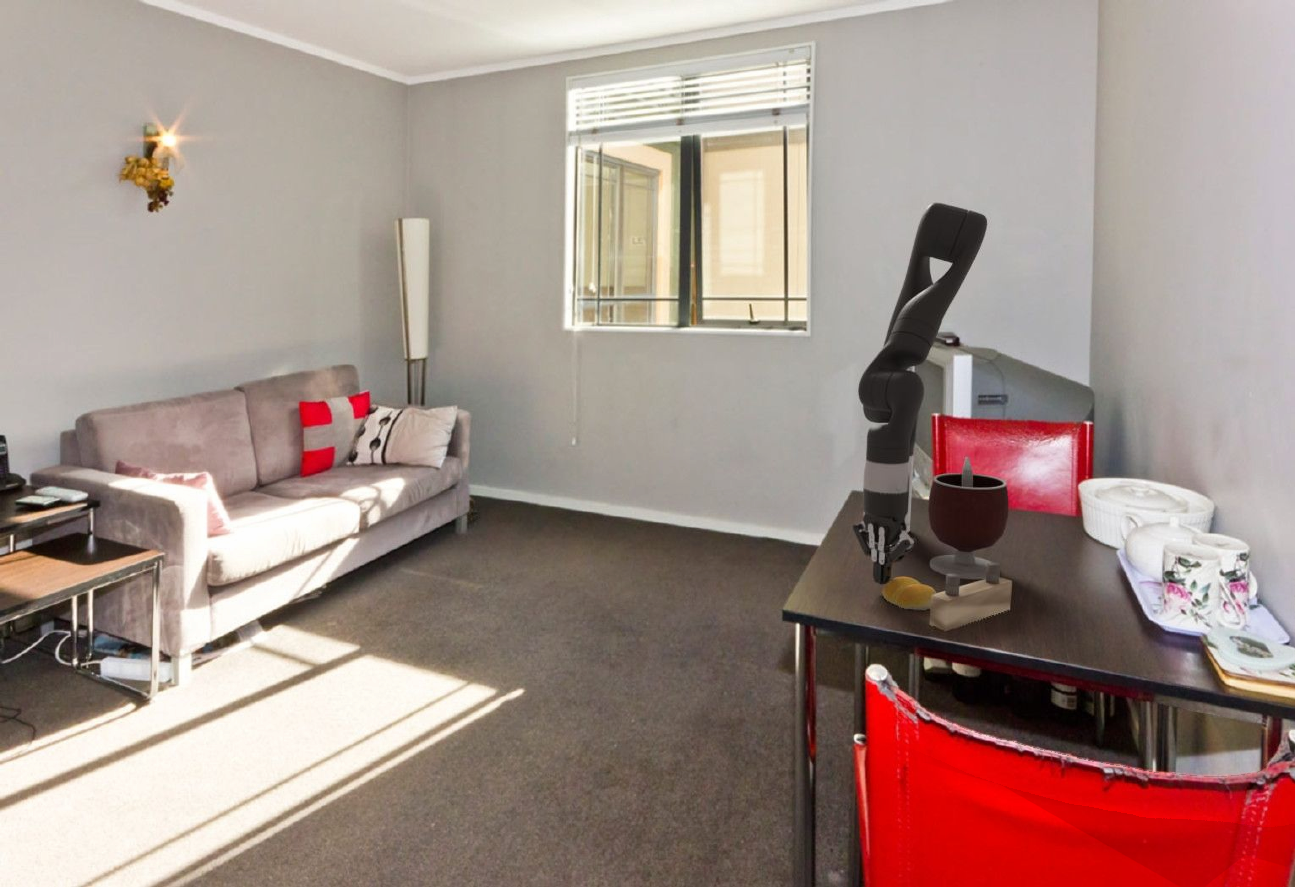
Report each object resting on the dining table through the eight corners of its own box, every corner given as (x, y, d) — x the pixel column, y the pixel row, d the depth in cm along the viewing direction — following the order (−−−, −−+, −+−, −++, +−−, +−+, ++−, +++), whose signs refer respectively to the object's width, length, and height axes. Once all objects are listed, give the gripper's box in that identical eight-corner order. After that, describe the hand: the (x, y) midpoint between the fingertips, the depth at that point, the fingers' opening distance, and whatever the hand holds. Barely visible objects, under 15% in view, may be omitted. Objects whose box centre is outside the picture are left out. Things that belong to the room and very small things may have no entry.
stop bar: (929, 625, 124) (932, 576, 123) (993, 604, 133) (996, 558, 131) (945, 631, 122) (948, 582, 121) (1010, 610, 130) (1013, 563, 129)
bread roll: (911, 616, 129) (912, 592, 128) (874, 598, 137) (875, 576, 136) (949, 607, 132) (950, 584, 132) (910, 590, 140) (911, 568, 140)
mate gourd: (1008, 584, 142) (1016, 475, 139) (926, 576, 146) (932, 470, 143) (998, 557, 157) (1005, 458, 153) (923, 551, 161) (929, 454, 157)
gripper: (932, 491, 132) (926, 590, 135) (872, 476, 143) (868, 568, 146) (901, 497, 128) (896, 598, 131) (842, 481, 139) (838, 575, 142)
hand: (881, 582), depth 138 cm, fingers closed
